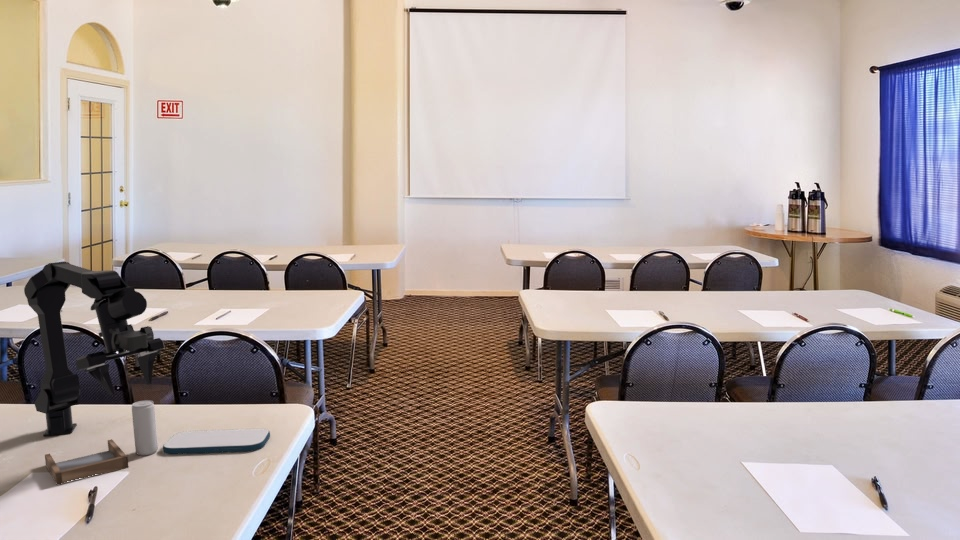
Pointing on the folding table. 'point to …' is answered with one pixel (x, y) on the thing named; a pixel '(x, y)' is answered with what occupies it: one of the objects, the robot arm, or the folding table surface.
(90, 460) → the bay
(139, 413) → the beverage can
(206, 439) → the external hard drive
